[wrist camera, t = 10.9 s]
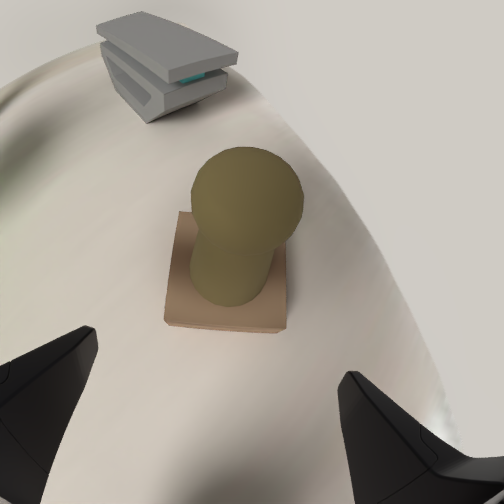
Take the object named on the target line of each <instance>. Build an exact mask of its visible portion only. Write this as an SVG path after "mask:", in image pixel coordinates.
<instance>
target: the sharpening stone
mask: <svg viewBox="0 0 504 504" xmlns="http://www.w3.org/2000/svg"><path fill="white" fill-rule="evenodd" d="M96 29H97V34H99V35H101V36H102V37H104V38H105V39H107V41H105V42H102V43H100V48H101V54H102V57H103V60H104V62H105V65H106V67H107V70H108V72H109V75H110V77H111V80H112V82H113V85H114V87H115V89H116V91H117V92H118V93H119V95H120V96H121V97H122V98H123V99H124V100H125V101H126V102H127V103H128V104H129V105H130V106H131V108H132V109H133V110H134V111H135V112H136V113H137V114H138V115H139V116H140V117H141V118H142V120H143V121H144V122H145V123H146V124H147V123H149V122H151V121H153V120H155V119H157V118H160V117H162V116H164V115H167V114H169V113H171V112H174V111H176V110H178V109H181V108H183V107H186V106H189V105H191V104H194V103H196V102H199V101H200V100H202V99H205V98H207V97H209V96H211V95H213V94H215V93H217V92H219V91H221V90H223V89H226V82H227V76H228V73H226V72H225V71H223V70H221V69H220V68H223V67H227V66H231V65H235V64H237V57H238V52H237V51H235V50H233V49H231V48H229V47H227V46H225V45H223V44H221V43H219V42H217V41H215V40H213V39H211V38H209V37H207V36H204V35H202V34H200V33H198V32H195V31H193V30H191V29H189V28H186V27H184V26H181V25H179V24H176V23H174V22H171V21H168V20H166V19H163V18H160V17H157V16H154V15H151V14H148V13H145V12H142V11H141V12H137V13H134V14H130V15H126V16H123V17H120V18H117V19H113V20H110V21H107V22H105V23H102V24H99V25H96Z"/></svg>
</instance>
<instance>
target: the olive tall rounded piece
mask: <svg viewBox="0 0 504 504" xmlns="http://www.w3.org/2000/svg"><path fill="white" fill-rule="evenodd" d="M303 201H304V194H303V191H302V187H301V184H300V181H299V179H298V176H297V175H296V173H295V172H294V171H293V169H292V168H291V166H290V165H289V164H288V163H286V162H285V161H284V160H283V159H282V158H280V157H279V156H277V155H275V154H273V153H271V152H269V151H267V150H263V149H259V148H254V147H235V148H231V149H227V150H224V151H222V152H220V153H218V154H217V155H215V156H213V157H212V158H211V159H209V160H208V161H207V162H206V163H205V164H204V165H203V167H202V168H201V169H200V170H199V171H198V173H197V176H196V179H195V181H194V184H193V187H192V190H191V206H192V215H193V217H194V219H195V221H196V224H197V226H198V228H199V229H198V233H197V237H196V241H195V245H194V249H193V253H192V257H191V261H190V265H189V268H190V278H191V280H192V283H193V285H194V287H195V289H196V290H197V291H198V292H199V294H200V295H201V296H202V297H203V298H204V299H206V300H208V301H210V302H211V303H213V304H215V305H220V306H224V307H234V306H241V305H243V304H246V303H248V302H250V301H252V300H253V299H254V298H255V297H256V296H257V295H258V294H259V293H260V292H261V291H262V289H263V287H264V285H265V283H266V280H267V276H268V273H269V269H270V266H271V262H272V258H273V255H274V251H275V248H277V247H279V246H280V245H281V244H282V243H284V242H285V241H286V240H287V239H288V238H289V237H290V236H291V235H292V234H293V232H294V231H295V229H296V227H297V225H298V223H299V221H300V219H301V217H302V212H303Z"/></svg>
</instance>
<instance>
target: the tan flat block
mask: <svg viewBox="0 0 504 504" xmlns="http://www.w3.org/2000/svg"><path fill="white" fill-rule="evenodd" d="M198 229H199V228H198V226H197V224H196V221H195V219H194V217H193V215H192V212H181V211H179V216H178V222H177V227H176V233H175V239H174V245H173V251H172V258H171V265H170V272H169V279H168V286H167V295H166V303H165V312H164V321H165V322H166V323H167V324H168V325H169V326H178V327H188V328H198V329H210V330H222V331H237V332H256V333H278V332H280V331H282V330H284V329H286V247H285V242H284V243H282V244H281V245H280V246H279V247H277V248H275V251H274V255H273V258H272V262H271V266H270V269H269V273H268V276H267V280H266V283H265V285H264V287H263V289H262V291H261V292H260V293H259V294H258V295H257V296H256V297H255V298H254V299H253V300H252V301H250V302H248V303H246V304H243V305H241V306H234V307H224V306H220V305H215V304H213V303H211V302H210V301H208V300H206V299H204V298H203V297H202V296H201V295H200V294H199V292H198V291H197V290H196V289H195V287H194V285H193V283H192V280H191V278H190V268H189V265H190V261H191V257H192V253H193V249H194V245H195V241H196V237H197V233H198Z"/></svg>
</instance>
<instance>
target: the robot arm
mask: <svg viewBox="0 0 504 504" xmlns="http://www.w3.org/2000/svg"><path fill="white" fill-rule="evenodd" d="M97 352H98V341H97V334H96V330H95V329H94V328H92V327H89V326H86V325H85V326H82V327H80V328H78V329H76V330H74V331H72V332H69V333H67V334H65V335H63V336H61V337H59V338H57V339H55V340H53V341H51V342H49V343H47V344H44V345H42V346H40V347H38V348H36V349H34V350H32V351H30V352H28V353H26V354H24V355H22V356H20V357H18V358H16V359H13V360H12V361H11V362H10V361H9V362H7V363H5V364H3V365H1V366H0V504H40V502H41V499H42V495H43V492H44V489H45V486H46V482H47V479H48V476H49V475H48V474H49V473H50V470H51V467H52V464H53V462H54V459H55V456H56V453H57V451H58V448H59V445H60V443H61V440H62V438H63V435H64V433H65V431H66V428H67V426H68V423H69V421H70V419H71V416H72V414H73V412H74V410H75V407H76V405H77V403H78V401H79V399H80V396H81V394H82V392H83V390H84V388H85V385H86V383H87V380H88V377H89V374H90V371H91V368H92V366H93V363H94V360H95V357H96V355H97ZM338 401H339V411H340V422H341V428H342V433H343V438H344V443H345V449H346V454H347V459H348V465H349V470H350V476H351V482H352V488H353V494H354V501H355V504H504V456H501V457H488V458H472V457H469V456H466V455H464V454H463V453H461V452H459V451H458V450H456V449H455V448H453V447H452V446H450V445H449V444H447V443H446V442H444V441H443V440H441V439H440V438H438V437H437V436H435V435H434V434H433V433H432V432H430V431H429V430H428V429H426V428H425V427H424V426H423V425H422V424H420V423H419V422H418V421H417V420H415V419H414V418H413V417H412V416H411V415H409V414H408V413H407V412H406V411H405V410H403V409H402V408H401V407H400V406H399V405H397V404H396V403H395V402H394V401H393V400H391V399H390V398H389V397H388V396H387V395H386V394H384V393H383V392H382V391H381V390H380V389H378V388H377V387H376V386H375V385H374V384H373V383H371V382H370V381H369V380H368V379H367V378H365V377H364V376H363V375H362V374H361V373H360V372H358V371H348V372H347V373H346V374H345V376H344V377H343V379H342V381H341V382H340V384H339V386H338Z"/></svg>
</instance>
